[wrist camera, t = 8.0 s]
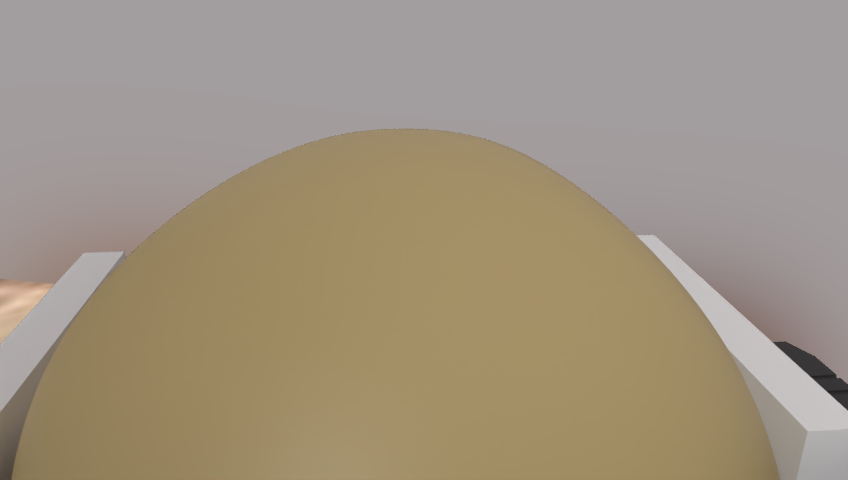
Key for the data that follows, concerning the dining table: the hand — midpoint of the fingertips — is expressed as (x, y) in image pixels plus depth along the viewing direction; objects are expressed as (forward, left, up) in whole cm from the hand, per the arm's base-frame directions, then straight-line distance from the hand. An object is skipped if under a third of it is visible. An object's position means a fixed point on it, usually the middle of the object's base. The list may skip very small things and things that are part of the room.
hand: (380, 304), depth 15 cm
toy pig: (+4, 0, -6) cm, 8 cm away
